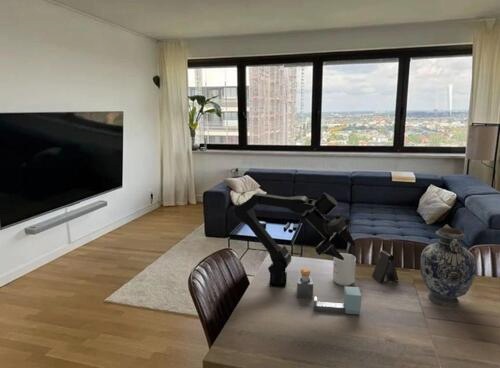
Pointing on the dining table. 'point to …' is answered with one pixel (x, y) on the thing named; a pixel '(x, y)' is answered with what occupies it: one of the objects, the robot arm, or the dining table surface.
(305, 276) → the orange and white mushroom
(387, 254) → the black tent sign
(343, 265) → the mug
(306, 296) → the grey hollow box
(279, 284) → the robot arm
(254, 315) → the dining table surface
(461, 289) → the decorative vase
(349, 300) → the grey block
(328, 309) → the rail
